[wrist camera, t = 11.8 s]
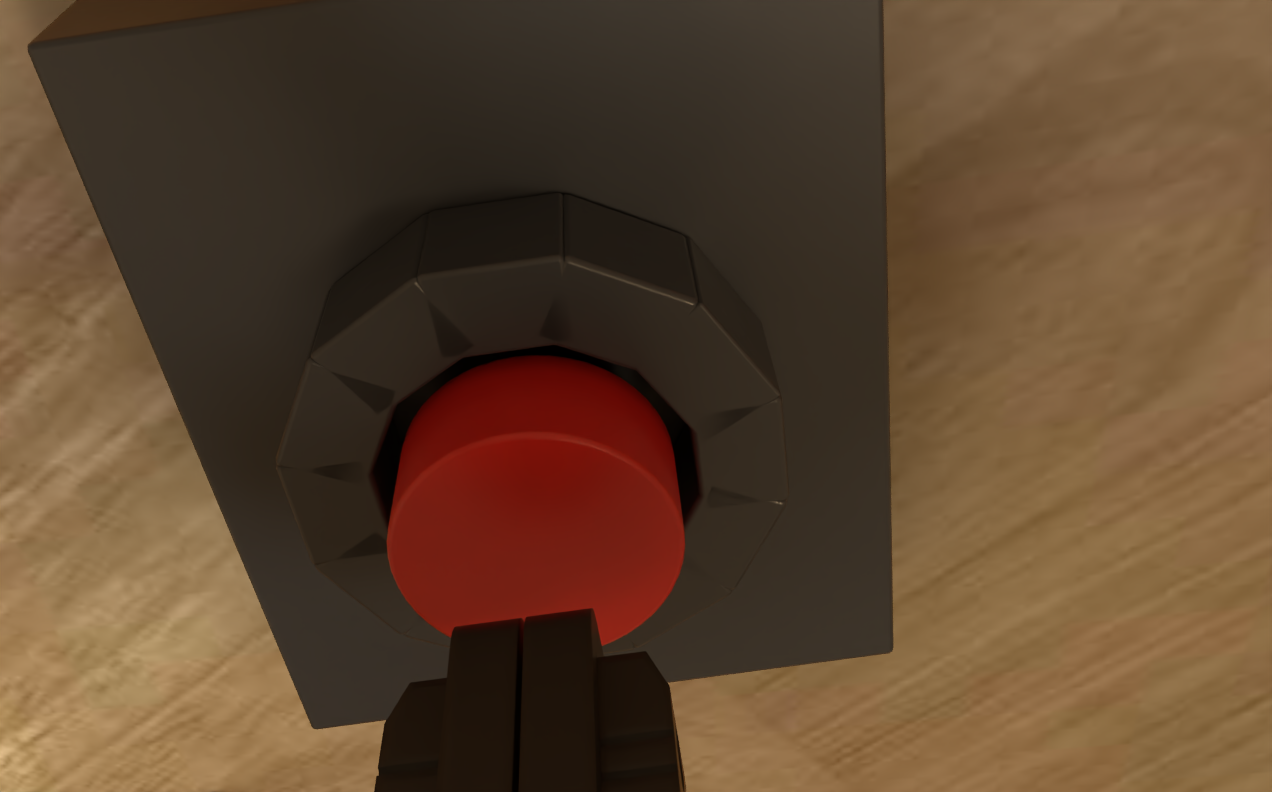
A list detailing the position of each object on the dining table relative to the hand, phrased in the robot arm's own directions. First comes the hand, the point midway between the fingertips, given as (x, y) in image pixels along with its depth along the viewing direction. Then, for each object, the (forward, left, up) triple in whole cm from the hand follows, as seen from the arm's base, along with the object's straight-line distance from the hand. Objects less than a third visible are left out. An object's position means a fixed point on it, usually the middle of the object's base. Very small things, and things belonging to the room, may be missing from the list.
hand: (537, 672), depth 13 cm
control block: (0, 0, -7) cm, 7 cm away
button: (0, 0, -4) cm, 4 cm away
